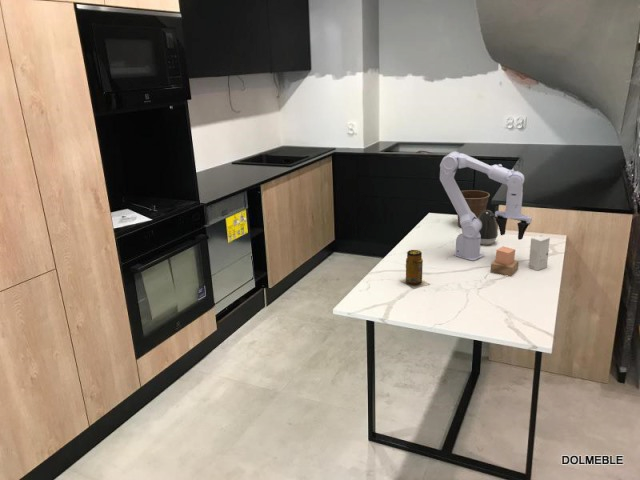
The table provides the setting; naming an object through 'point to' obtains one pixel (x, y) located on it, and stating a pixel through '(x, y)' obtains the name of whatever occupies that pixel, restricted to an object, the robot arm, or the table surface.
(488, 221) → the dark grey rounded figure
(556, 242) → the table surface
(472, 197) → the plant pot
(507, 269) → the walnut block
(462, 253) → the robot arm
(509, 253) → the terracotta cube
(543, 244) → the skincare box
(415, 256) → the condiment
